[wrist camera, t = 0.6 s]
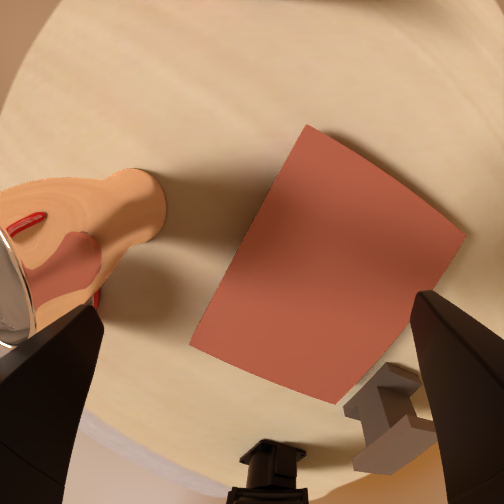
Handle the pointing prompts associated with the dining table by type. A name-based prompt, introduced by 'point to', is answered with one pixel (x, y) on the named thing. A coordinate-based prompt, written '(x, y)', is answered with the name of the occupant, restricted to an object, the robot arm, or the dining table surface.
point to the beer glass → (68, 243)
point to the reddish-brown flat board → (325, 272)
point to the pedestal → (389, 421)
